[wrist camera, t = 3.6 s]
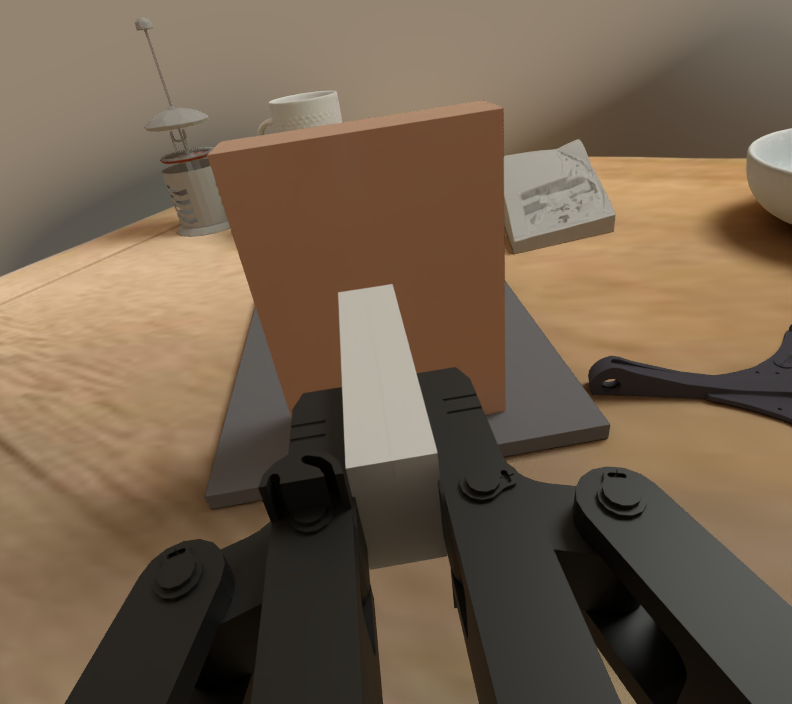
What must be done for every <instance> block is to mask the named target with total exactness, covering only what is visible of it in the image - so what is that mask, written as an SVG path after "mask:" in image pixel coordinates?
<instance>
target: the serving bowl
mask: <svg viewBox="0 0 792 704" xmlns="http://www.w3.org/2000/svg"><path fill="white" fill-rule="evenodd" d="M746 171H747V180H748V184H749V187H750V189H751V191H752V193H753V195H754V197H755V198H756V200H757V201H758V202H759V203H760V204H761V206H763V207H764V208H765V209H766V210H767V211H768V212H770V213H771V214H773V215H774V216H776V217H777V218H779V219H781V220H783V221H785V222H787V223H789V224H792V128H791V129H787V130H782V131H778V132H775V133H771V134H769V135H766V136H763V137H761V138H759V139H757V140H756V141H754V142H753V143H752V144H751V145H750V146H749V149H748V152H747V167H746Z"/></svg>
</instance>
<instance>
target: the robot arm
mask: <svg viewBox="0 0 792 704" xmlns="http://www.w3.org/2000/svg"><path fill="white" fill-rule="evenodd" d="M338 301H339V325H340V348H341V371H342V387H338V388H332V389H326V390H320V391H314V392H307V393H303V394H302V395H301V397H300V398H299V400H298V402H297V403H296V405H295V406H294V408H293V409H292V420H291V430H290V443H289V451H288V455H286V456H285V457H283V458H282V459H280V460H278V461H277V462H275V463H273V464H272V466H271V467H270V468H269V469H268V470H267V471H266V472H265V473H264V474H263V476H262V479H261V481H260V484H259V486H258V489H259V492H260V494H261V497H262V500H263V502H264V505H265V507H266V510H267V512H268V515H269V518H270V520H271V521H270V522H269V523H268V524H267V525H266V526H264V527H263V528H262V529H261V530H260V531H258V532H256V533H254V534H253V535H251V536H249V537H247V538H245V539H243V540H241V541H238V542H236V543H234V544H232V545H230V546H228V547H225V548H223V549H221V550H220V549H219V548H218V547H217V546H216V545H215V544H214V543H213V542H209V541H205V540H201V539H197V540H190V541H183V542H181V543H179V544H177V545H174V546H172V547H170V548H168V549H166V550H165V551H164V552H162V553H161V554H160V555H158V556H157V557H156V558H154V559H153V560H152V561H151V562H150V564H149V565H148V566H147V567H146V569H145V570H144V571H143V572H142V574H141V575H140V576H139V578H138V580H137V582H136V583H135V585H134V587H133V588H132V590H131V592H130V593H129V595H128V597H127V599H126V600H125V602H124V604H123V605H122V607H121V609H120V610H119V612H118V614H117V615H116V617H115V619H114V621H113V622H112V624H111V626H110V627H109V629H108V631H107V632H106V634H105V636H104V638H103V639H102V641H101V643H100V644H99V646H98V648H97V649H96V651H95V653H94V655H93V656H92V658H91V660H90V661H89V663H88V665H87V666H86V668H85V670H84V671H83V673H82V675H81V677H80V678H79V680H78V682H77V683H76V685H75V687H74V688H73V690H72V692H71V694H70V695H69V697H68V699H67V700H66V702H65V704H383V698H382V687H381V675H380V664H379V652H378V640H377V629H376V617H375V606H374V597H373V593H372V589H371V585H370V577H369V568H370V570H372V569H377V568H383V567H388V566H394V565H400V564H405V563H411V562H417V561H422V560H428V559H434V558H439V557H445V556H447V554H448V558H449V562H450V567H451V577H452V588H453V599H454V608H458V612H459V617H460V621H461V626H462V630H463V634H464V639H465V643H466V648H467V652H468V657H469V661H470V665H471V670H472V674H473V679H474V683H475V688H476V692H477V696H478V701H479V704H621V702H620V699H619V697H618V695H617V693H616V690H615V688H614V686H613V684H612V681H611V679H610V677H609V674H608V672H607V670H606V668H605V665H604V663H603V661H602V659H601V656H600V654H599V652H598V650H597V648H598V649H599V650H600V652H601V653H602V655H603V656H604V657H605V659H606V660H607V662H608V663H609V665H610V666H611V667H612V669H613V670H614V672H615V673H616V675H617V676H618V677H619V679H620V680H621V682H622V683H623V685H624V686H625V687H626V689H627V690H628V692H629V693H630V695H631V696H632V697H633V699H634V700H635V702H636V703H637V704H792V607H791V606H790V605H789V604H788V603H787V602H786V601H785V600H784V599H782V598H781V597H780V596H779V595H778V594H777V593H776V592H775V591H774V590H773V589H771V588H770V587H769V586H768V585H767V584H766V583H765V582H764V581H763V580H761V579H760V578H759V577H758V576H757V575H756V574H755V573H754V572H753V571H751V570H750V569H749V568H748V567H747V566H746V565H745V564H744V563H743V562H741V561H740V560H739V559H738V558H737V557H736V556H735V555H734V554H733V553H731V552H730V551H729V550H728V549H727V548H726V547H725V546H724V545H723V544H722V543H720V542H719V541H718V540H717V539H716V538H715V537H714V536H713V535H712V534H710V533H709V532H708V531H707V530H706V529H705V528H704V527H703V526H702V525H700V524H699V523H698V522H697V521H696V520H695V519H694V518H693V517H692V516H690V515H689V514H688V513H687V512H686V511H685V510H684V509H683V508H682V507H680V506H679V505H678V504H677V503H676V502H675V501H674V500H673V499H672V498H671V497H669V496H668V495H667V494H666V493H665V492H664V491H663V490H662V489H661V488H659V487H658V486H657V485H656V484H655V483H653V482H652V481H650V480H649V479H647V478H646V477H644V476H643V475H642V474H639V473H637V472H634V471H631V470H628V469H625V468H618V467H602V468H598V469H593V470H591V471H589V472H588V473H586V474H585V475H583V476H582V477H581V478H580V480H579V482H578V484H577V486H570V485H559V484H549V483H543V482H538V481H534V480H532V479H529V478H527V477H524V476H523V475H521V474H519V473H518V472H517V471H516V469H515V468H513V467H512V466H510V465H509V464H507V462H506V460H505V459H504V457H503V455H502V453H501V451H500V448H499V446H498V443H497V441H496V439H495V436H494V434H493V432H492V429H491V427H490V424H489V422H488V420H487V417H486V415H485V413H484V410H483V409H482V405H481V403H480V401H479V398H478V397H477V394H476V391H475V389H474V387H473V384H472V382H471V379H470V378H469V377H468V376H466V375H465V374H464V373H463V372H461V371H460V370H459V369H458V368H456V367H452V368H446V369H440V370H433V371H427V372H421V373H416V370H415V366H414V363H413V359H412V355H411V351H410V348H409V344H408V340H407V336H406V333H405V329H404V325H403V321H402V318H401V314H400V310H399V306H398V303H397V299H396V295H395V291H394V288H393V284H390V285H383V286H377V287H371V288H364V289H358V290H351V291H345V292H338ZM596 646H597V647H596Z"/></svg>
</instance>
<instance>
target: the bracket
mask: <svg viewBox="0 0 792 704" xmlns="http://www.w3.org/2000/svg"><path fill="white" fill-rule="evenodd" d="M588 377H589V384H590V390H591V392H592V394H596V395H620V396H645V397H670V398H695V399H708V400H710V401H715V402H719V403H724V404H728V405H733V406H737V407H742V408H745V409H749V410H752V411H756V412H759V413H762V414H765V415H768V416H772V417H775V418H778V419H781V420H784V421H786V422H789V423H791V424H792V325H791V326H790V327H789V331H787V332H786V333H785V336H784V340H783V343H782V345H781V347H780V348H779V350H778V351H777V352H776V353H775V354H774V355H773V356H772V357H770V358H769V359H767V360H766V361H764V362H762V363H761V364H759V365H757V366H755V367H752V368H749V369H745V370H741V371H737V372H733V373H728V374H721V375H706V374H697V373H689V372H680V371H675V370H671V369H666V368H661V367H657V366H652V365H647V364H643V363H638V362H634V361H630V360H627V359H624V358H621V357H616V356H608V357H605V358H603V359H601V360H599V361H597V362H596V363H595V364H594V365H593V366H592V367H591V369H590V370H589V374H588ZM608 379H616V380H614V381H612V382H605V380H608ZM618 383H619V385H618V386H617V387H615V388H612V389H607V388H604V387H603V386H606V387H613V386H615V385H617V384H618ZM601 384H602V385H603V386H602V385H601Z"/></svg>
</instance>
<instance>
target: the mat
mask: <svg viewBox="0 0 792 704" xmlns="http://www.w3.org/2000/svg"><path fill="white" fill-rule="evenodd" d="M505 387H506V411H503V412H498V413H492V414H486V417H487V420H488V422H489V424H490V427H491V429H492V432H493V434H494V436H495V439H496V441H497V443H498V446H499V448H500V451H501V453H502V455H503V457H505V456H510V455H516V454H522V453H527V452H533V451H538V450H544V449H549V448H555V447H561V446H566V445H572V444H577V443H583V442H588V441H594V440H600V439H605V438H608V436H609V429H610V423H609V422H608V421H607V419H606V418H605V417H604V415H603V414H602V412H601V411H600V410H599V408H598V407H597V406H596V404H595V403H594V402H593V400H592V399H591V397H590V396H589V395H588V393H587V392H586V391H585V389H584V388H583V386H582V385H581V384H580V382H579V381H578V380H577V378H576V377H575V376H574V374H573V373H572V371H571V370H570V369H569V367H568V366H567V365H566V363H565V362H564V360H563V359H562V358H561V356H560V355H559V354H558V352H557V351H556V350H555V348H554V347H553V345H552V344H551V343H550V341H549V340H548V339H547V337H546V336H545V334H544V333H543V332H542V330H541V329H540V328H539V326H538V325H537V324H536V322H535V321H534V319H533V318H532V317H531V315H530V314H529V313H528V311H527V310H526V308H525V307H524V306H523V304H522V303H521V302H520V300H519V299H518V298H517V296H516V295H515V293H514V292H513V291H512V289H511V288H510V287H509V285H508V284H507V282H506V281H505ZM291 420H292V419H291V416H290V412H289V409H288V406H287V403H286V400H285V397H284V394H283V391H282V387H281V384H280V381H279V378H278V375H277V372H276V369H275V366H274V362H273V359H272V356H271V353H270V350H269V347H268V344H267V341H266V338H265V334H264V331H263V328H262V325H261V322H260V319H259V316H258V313H257V309H256V307H255V310H254V314H253V318H252V322H251V325H250V329H249V333H248V336H247V340H246V344H245V348H244V351H243V355H242V359H241V363H240V366H239V370H238V374H237V378H236V381H235V385H234V389H233V393H232V396H231V400H230V404H229V408H228V411H227V415H226V419H225V423H224V426H223V430H222V434H221V437H220V441H219V445H218V449H217V452H216V456H215V460H214V464H213V467H212V471H211V475H210V479H209V482H208V486H207V490H206V494H205V499H206V501H207V502H208V504H209V506H210V508H211V509H215V508H221V507H226V506H232V505H237V504H243V503H248V502H254V501H260V500H262V497H261V494H260V492H259V489H258V486H259V484H260V481H261V479H262V476H263V474H264V473H265V472H266V471H267V470H268V469H269V468H270V467H271V466H272V464H273V463H275V462H277V461H278V460H280V459H282V458H283V457H285V456H286V455H288V451H289V443H290V430H291Z"/></svg>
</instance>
